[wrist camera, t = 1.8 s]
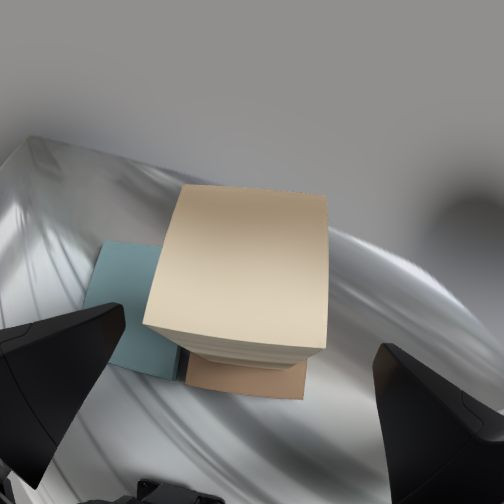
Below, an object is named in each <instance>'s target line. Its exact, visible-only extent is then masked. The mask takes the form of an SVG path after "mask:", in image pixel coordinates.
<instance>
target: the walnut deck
mask: <svg viewBox="0 0 504 504" xmlns="http://www.w3.org/2000/svg"><path fill="white" fill-rule="evenodd" d="M306 367H307V359H306V360H304V361H302V362H300V363H298V364H296V365H294V366H293V367H291V368H289V369H287V370H275V369H265V368H256V367H247V366H239V365H232V364H225V363H219V362H212V361H208V360H206V359H204V358H203V357H201V356H199V355H197V354H195V353H193V352H191V351H190V357H189V363H188V369H187V375H186V381H185V385H189V386H194V387H199V388H204V389H209V390H215V391H221V392H228V393H235V394H242V395H250V396H259V397H268V398H280V399H295V400H303V396H304V387H305V377H306Z"/></svg>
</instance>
